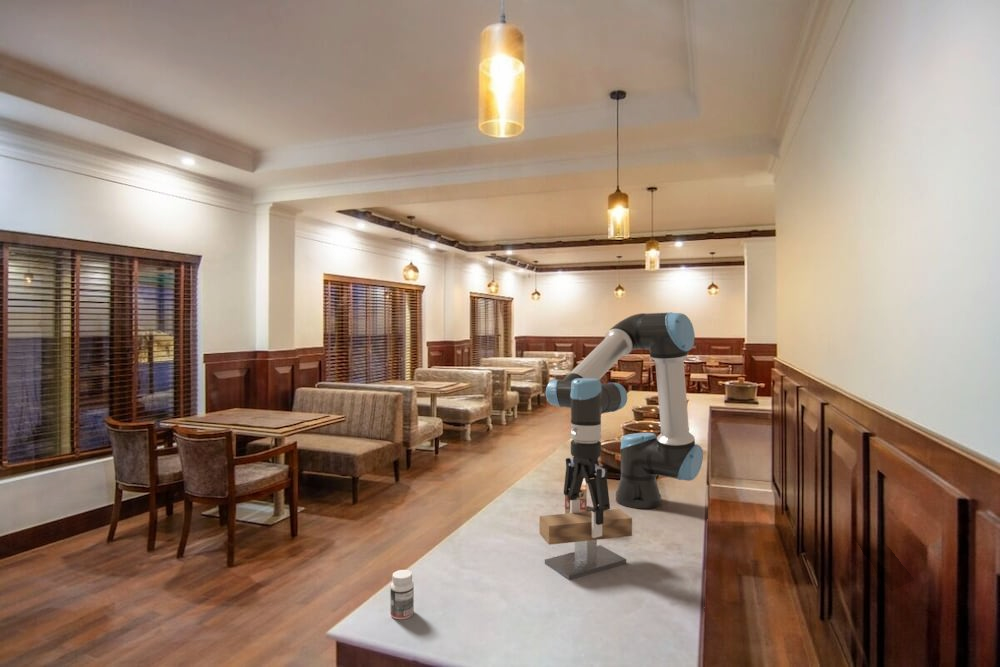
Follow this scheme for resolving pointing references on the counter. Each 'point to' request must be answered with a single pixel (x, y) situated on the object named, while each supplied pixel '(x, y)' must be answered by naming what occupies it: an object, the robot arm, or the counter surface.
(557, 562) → the fulcrum
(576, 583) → the counter surface
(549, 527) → the board
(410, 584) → the pill bottle
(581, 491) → the stack of blocks
